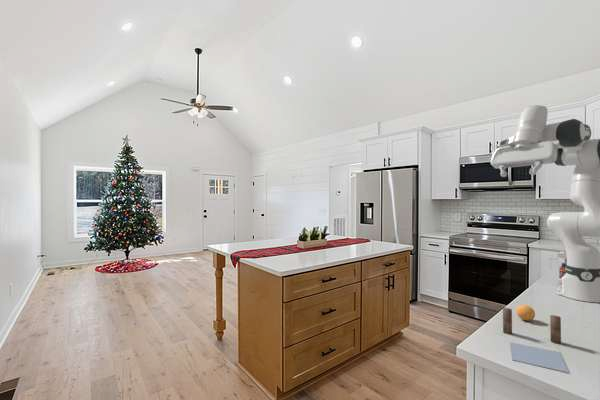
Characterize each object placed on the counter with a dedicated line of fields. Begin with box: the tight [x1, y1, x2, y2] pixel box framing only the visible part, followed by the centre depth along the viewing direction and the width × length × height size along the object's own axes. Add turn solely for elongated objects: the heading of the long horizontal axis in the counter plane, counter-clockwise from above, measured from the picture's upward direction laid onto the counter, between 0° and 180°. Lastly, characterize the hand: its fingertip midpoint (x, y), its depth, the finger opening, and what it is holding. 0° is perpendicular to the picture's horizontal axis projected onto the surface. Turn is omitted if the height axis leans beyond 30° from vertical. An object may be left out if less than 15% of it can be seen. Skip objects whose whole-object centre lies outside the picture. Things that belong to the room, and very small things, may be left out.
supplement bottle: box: [558, 263, 567, 285], centre depth 153 cm, size 6×6×11 cm
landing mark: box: [509, 341, 570, 374], centre depth 85 cm, size 12×12×1 cm
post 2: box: [549, 314, 562, 345], centre depth 93 cm, size 2×2×8 cm
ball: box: [516, 304, 536, 322], centre depth 110 cm, size 6×6×6 cm
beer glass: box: [557, 250, 567, 268], centre depth 164 cm, size 7×7×15 cm
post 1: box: [502, 307, 513, 335], centre depth 100 cm, size 2×2×8 cm
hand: (517, 175), depth 107 cm, fingers open, 8 cm apart
